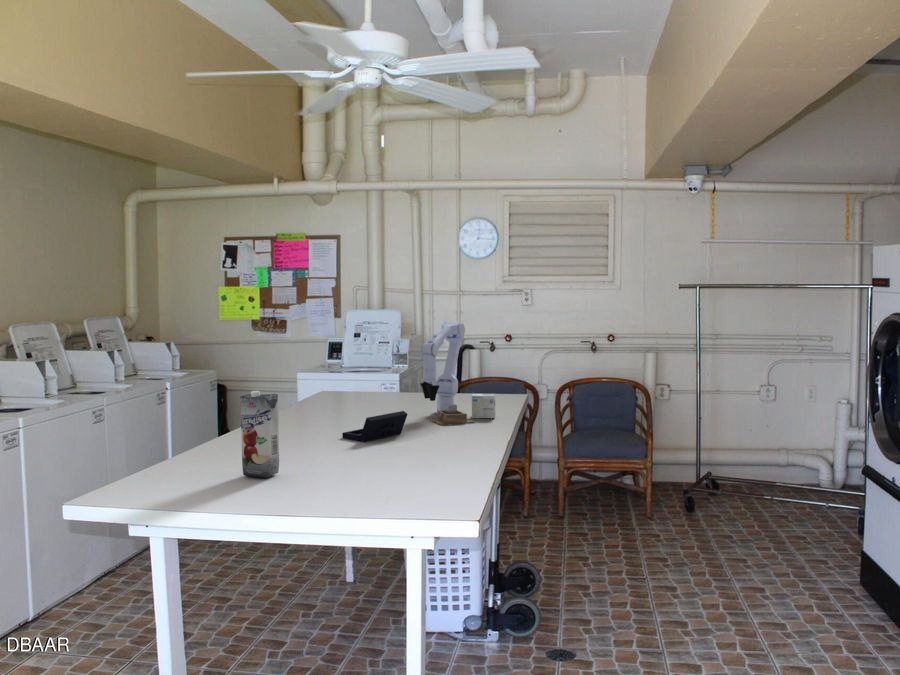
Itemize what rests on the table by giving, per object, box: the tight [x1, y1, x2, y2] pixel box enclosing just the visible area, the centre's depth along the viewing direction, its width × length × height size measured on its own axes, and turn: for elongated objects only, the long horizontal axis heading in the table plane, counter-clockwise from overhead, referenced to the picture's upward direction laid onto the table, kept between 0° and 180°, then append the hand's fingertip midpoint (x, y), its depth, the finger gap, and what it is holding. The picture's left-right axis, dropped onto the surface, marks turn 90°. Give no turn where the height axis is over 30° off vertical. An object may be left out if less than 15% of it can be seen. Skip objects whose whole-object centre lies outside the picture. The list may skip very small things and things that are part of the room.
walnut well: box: [429, 409, 475, 426], centre depth 328 cm, size 14×16×4 cm
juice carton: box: [239, 390, 280, 479], centre depth 233 cm, size 9×10×27 cm
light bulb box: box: [471, 393, 496, 420], centre depth 337 cm, size 11×7×11 cm, turn 84°
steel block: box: [445, 403, 458, 415], centre depth 328 cm, size 4×4×7 cm
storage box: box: [341, 410, 408, 443], centre depth 295 cm, size 21×16×10 cm
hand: (429, 399), depth 331 cm, fingers open, 7 cm apart
